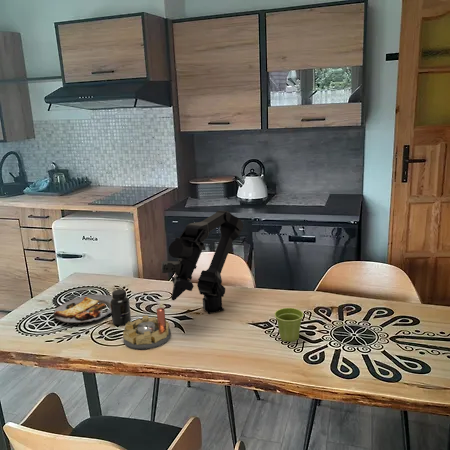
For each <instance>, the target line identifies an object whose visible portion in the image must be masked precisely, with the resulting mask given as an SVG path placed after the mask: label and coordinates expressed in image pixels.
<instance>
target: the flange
mask: <svg viewBox="0 0 450 450" xmlns="http://www.w3.org/2000/svg"><path fill="white" fill-rule="evenodd" d="M137 328H138V330H136V333H137V334H139V335H141V334H144V332H147V331H150V334H151V333H153V332H155V331H157V330H158V328H156V327H155V323H154V322H142V323H140V324H139V325H138V326H137ZM171 331H172V330H171V329H170V327H169V334H168V335H167V337H166V338H164V339H162V340H160V341H158V342H156V343H154V342H152V344H142V345H136V343H135V344H132V343H130V342H128V341H126V340H125V339H124V336H122V338H123V343H124V345H125V346H126V347H127V348H129V349H133V350H140V351H146V350H152V349H157V348H159V347H161V346H163V345H165V344H166V343H168V341H170V339H171V337H172V332H171Z"/></svg>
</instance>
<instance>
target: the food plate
mask: <svg viewBox="0 0 450 450" xmlns="http://www.w3.org/2000/svg"><path fill="white" fill-rule="evenodd" d="M112 299H113V298H112V295H106V294H89V295H83V296H80V297H76V298H72V299H69V300H67V301H65V302H64V303H62V304H61V305H59V306H58V307H56V308H54V311H53V314H52V315H53V316H52V317H54V319H55V320H57V321H60V322H62V323H64V324H65V323H67V324H82V323H85V324H86V323H87V324H88V323H91V322H93V321H98V320H100V319H102V318H104V317H105V318H106V317H107V316H108V315H109V314H111V305H110V302H111V300H112ZM106 308H108V309H107V310H104V309H106Z"/></svg>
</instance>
